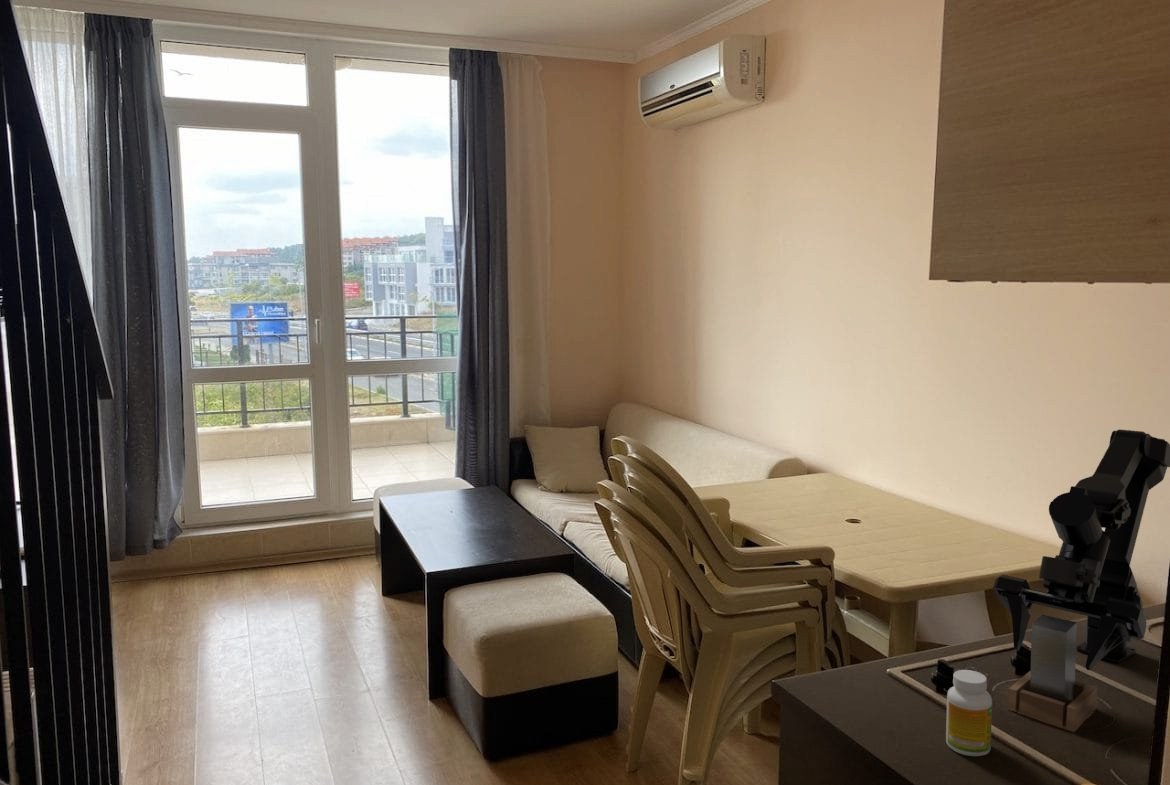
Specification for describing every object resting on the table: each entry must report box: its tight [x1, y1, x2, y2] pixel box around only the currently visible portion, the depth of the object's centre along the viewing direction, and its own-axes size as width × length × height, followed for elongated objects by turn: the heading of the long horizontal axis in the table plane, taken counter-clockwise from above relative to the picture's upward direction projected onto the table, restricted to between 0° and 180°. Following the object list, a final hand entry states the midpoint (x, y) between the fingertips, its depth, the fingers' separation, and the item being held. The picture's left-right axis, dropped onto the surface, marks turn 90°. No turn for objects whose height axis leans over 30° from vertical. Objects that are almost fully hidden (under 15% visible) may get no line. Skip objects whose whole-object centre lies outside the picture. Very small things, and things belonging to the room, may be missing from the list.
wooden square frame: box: [1007, 670, 1098, 733], centre depth 123 cm, size 9×9×4 cm
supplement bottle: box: [945, 669, 993, 757], centre depth 114 cm, size 5×5×10 cm
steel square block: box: [1030, 614, 1078, 717], centre depth 122 cm, size 4×4×12 cm
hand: (1050, 659), depth 121 cm, fingers open, 9 cm apart
